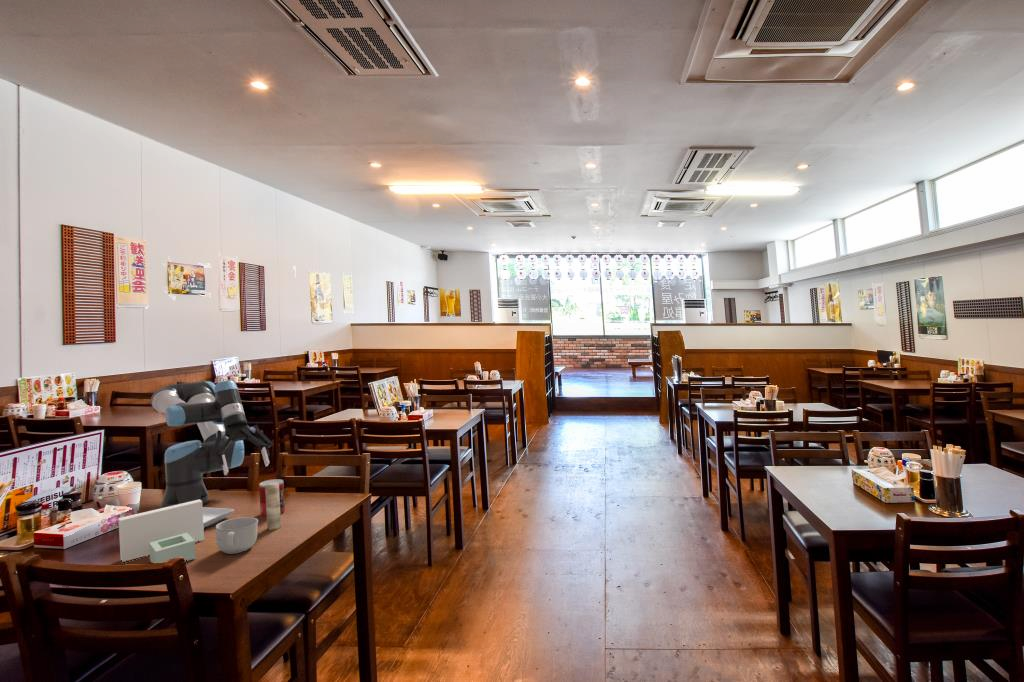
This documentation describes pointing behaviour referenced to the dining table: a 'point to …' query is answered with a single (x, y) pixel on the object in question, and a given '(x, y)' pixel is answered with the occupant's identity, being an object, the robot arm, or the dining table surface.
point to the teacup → (236, 534)
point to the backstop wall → (159, 527)
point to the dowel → (273, 506)
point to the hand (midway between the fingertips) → (247, 468)
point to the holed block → (172, 548)
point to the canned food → (263, 495)
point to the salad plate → (214, 515)
